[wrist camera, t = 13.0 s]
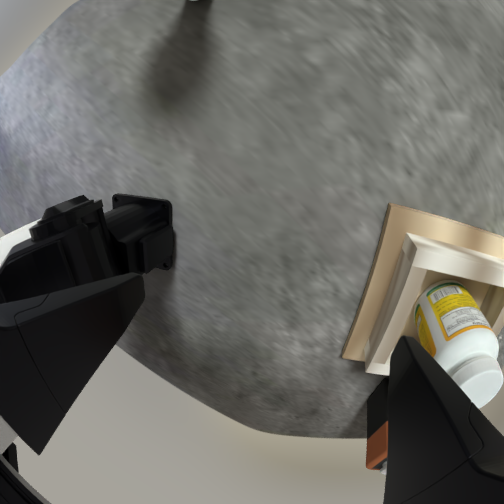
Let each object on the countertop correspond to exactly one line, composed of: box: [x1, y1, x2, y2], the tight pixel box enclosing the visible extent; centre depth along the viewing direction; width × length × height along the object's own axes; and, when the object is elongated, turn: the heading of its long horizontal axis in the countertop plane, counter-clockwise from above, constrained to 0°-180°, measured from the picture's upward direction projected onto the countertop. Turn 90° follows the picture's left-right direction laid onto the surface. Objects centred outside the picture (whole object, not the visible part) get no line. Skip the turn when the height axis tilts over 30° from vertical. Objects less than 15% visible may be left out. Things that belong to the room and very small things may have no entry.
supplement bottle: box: [414, 280, 503, 409], centre depth 14 cm, size 5×5×10 cm
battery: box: [366, 378, 389, 475], centre depth 20 cm, size 4×7×10 cm, turn 79°
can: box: [0, 218, 42, 266], centre depth 24 cm, size 6×6×12 cm
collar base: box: [342, 203, 504, 376], centre depth 18 cm, size 14×14×4 cm
